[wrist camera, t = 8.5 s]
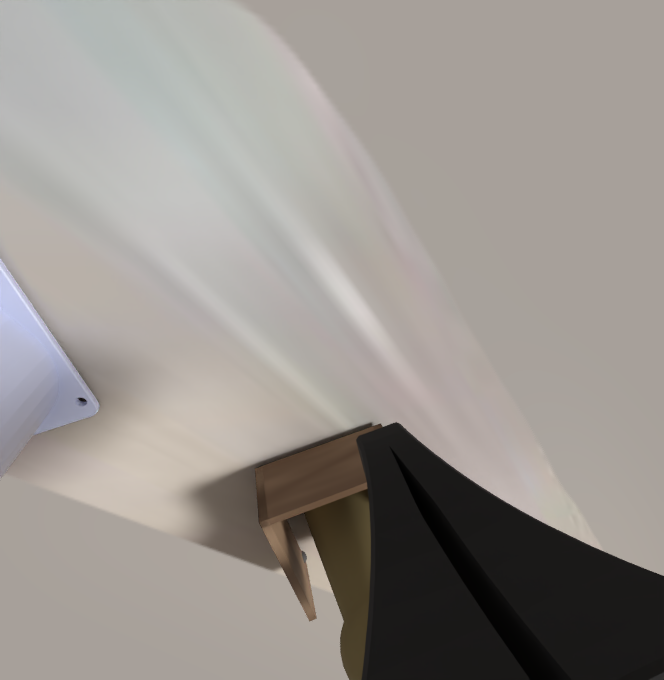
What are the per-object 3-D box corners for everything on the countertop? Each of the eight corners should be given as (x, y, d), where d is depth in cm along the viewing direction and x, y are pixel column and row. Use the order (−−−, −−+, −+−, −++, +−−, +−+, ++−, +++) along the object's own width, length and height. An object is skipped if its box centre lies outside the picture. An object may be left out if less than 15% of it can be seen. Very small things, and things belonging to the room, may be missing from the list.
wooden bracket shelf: (250, 465, 23) (254, 524, 20) (382, 419, 24) (409, 466, 21) (296, 561, 29) (306, 622, 25) (402, 519, 30) (428, 572, 26)
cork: (368, 526, 29) (436, 705, 19) (295, 530, 27) (329, 731, 18) (390, 468, 27) (480, 638, 17) (312, 468, 25) (362, 660, 15)
